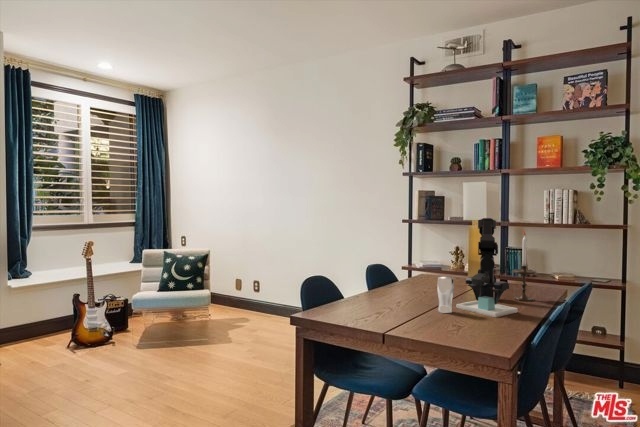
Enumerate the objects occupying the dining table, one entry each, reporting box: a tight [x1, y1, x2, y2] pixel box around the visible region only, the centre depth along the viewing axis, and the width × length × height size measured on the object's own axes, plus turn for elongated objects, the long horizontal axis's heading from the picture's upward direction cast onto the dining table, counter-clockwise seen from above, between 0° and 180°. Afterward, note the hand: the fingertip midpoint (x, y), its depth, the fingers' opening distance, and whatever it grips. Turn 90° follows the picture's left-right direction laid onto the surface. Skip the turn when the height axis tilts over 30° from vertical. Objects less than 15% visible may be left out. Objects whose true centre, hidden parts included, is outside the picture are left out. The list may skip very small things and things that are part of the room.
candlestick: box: [511, 229, 537, 302], centre depth 224 cm, size 11×11×35 cm
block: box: [478, 296, 495, 311], centre depth 200 cm, size 5×5×5 cm
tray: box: [456, 299, 518, 318], centre depth 200 cm, size 20×16×2 cm
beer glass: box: [436, 276, 455, 314], centre depth 197 cm, size 7×7×15 cm
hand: (486, 302), depth 200 cm, fingers open, 9 cm apart
